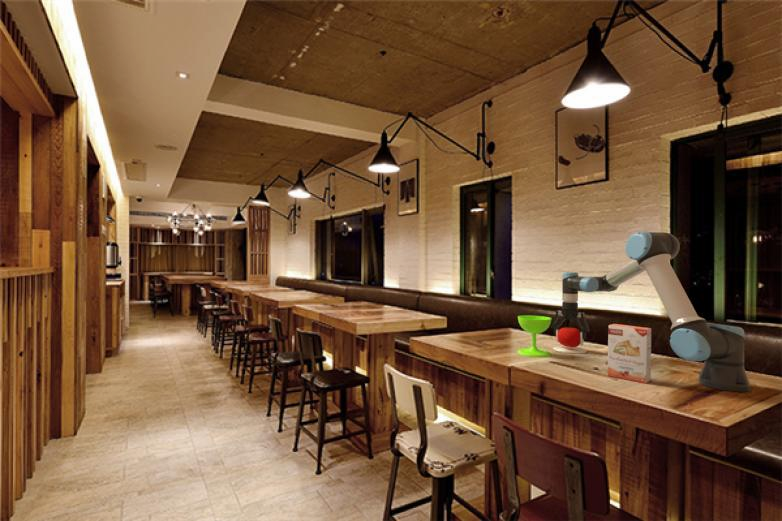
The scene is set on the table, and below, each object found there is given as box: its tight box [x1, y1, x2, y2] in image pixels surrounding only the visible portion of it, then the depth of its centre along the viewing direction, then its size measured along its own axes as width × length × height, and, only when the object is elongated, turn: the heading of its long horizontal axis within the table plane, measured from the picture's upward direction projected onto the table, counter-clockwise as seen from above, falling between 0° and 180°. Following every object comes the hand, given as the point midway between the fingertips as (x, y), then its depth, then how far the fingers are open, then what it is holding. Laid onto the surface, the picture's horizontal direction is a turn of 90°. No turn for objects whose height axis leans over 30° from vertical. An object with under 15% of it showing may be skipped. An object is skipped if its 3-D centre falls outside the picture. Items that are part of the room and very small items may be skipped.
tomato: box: [557, 326, 582, 347], centre depth 214 cm, size 11×12×10 cm
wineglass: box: [517, 315, 552, 358], centre depth 206 cm, size 16×16×18 cm
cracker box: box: [607, 323, 652, 385], centre depth 163 cm, size 14×6×21 cm, turn 43°
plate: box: [552, 345, 587, 355], centre depth 214 cm, size 16×16×1 cm
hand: (569, 343), depth 214 cm, fingers closed on tomato, 11 cm apart
